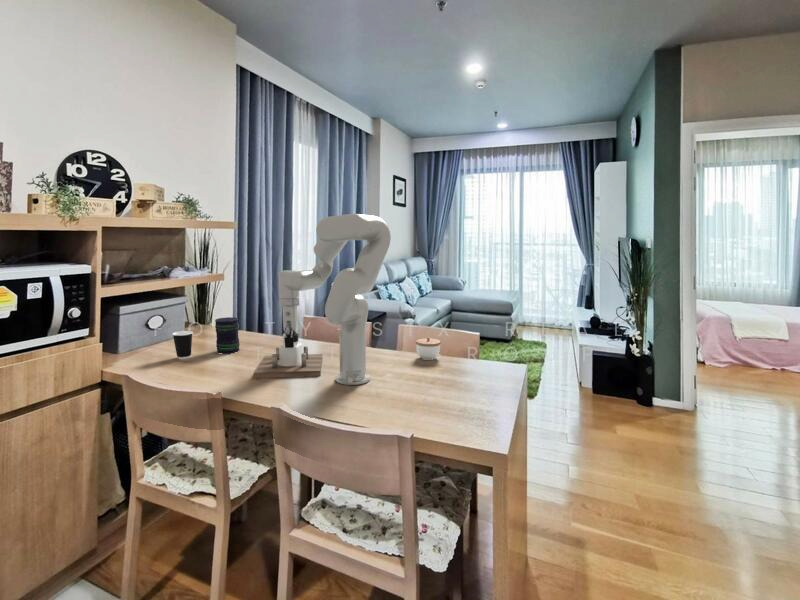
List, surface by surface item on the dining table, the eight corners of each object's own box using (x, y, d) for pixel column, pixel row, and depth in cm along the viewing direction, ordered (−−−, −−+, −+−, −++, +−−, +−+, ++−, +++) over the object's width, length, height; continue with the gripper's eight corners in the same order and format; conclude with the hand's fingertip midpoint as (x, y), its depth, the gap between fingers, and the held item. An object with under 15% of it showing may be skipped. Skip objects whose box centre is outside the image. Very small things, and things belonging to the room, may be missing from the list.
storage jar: (217, 349, 196) (216, 317, 194) (240, 348, 199) (239, 316, 197) (215, 354, 187) (213, 321, 185) (239, 353, 189) (237, 320, 187)
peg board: (320, 375, 159) (320, 357, 158) (254, 378, 155) (253, 359, 154) (322, 358, 182) (322, 342, 181) (265, 360, 179) (264, 344, 178)
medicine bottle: (302, 360, 172) (302, 331, 170) (297, 365, 165) (296, 335, 163) (285, 359, 172) (284, 330, 171) (279, 364, 165) (278, 334, 164)
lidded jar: (413, 360, 180) (413, 339, 179) (418, 354, 191) (418, 334, 190) (438, 362, 178) (438, 340, 177) (441, 356, 188) (442, 335, 187)
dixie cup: (198, 356, 184) (197, 331, 182) (182, 361, 176) (181, 335, 175) (185, 354, 187) (184, 330, 185) (169, 359, 180) (167, 333, 178)
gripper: (297, 305, 157) (298, 349, 160) (301, 298, 174) (302, 339, 177) (276, 305, 156) (278, 350, 158) (282, 299, 173) (283, 339, 175)
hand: (290, 344), depth 168 cm, fingers open, 9 cm apart
